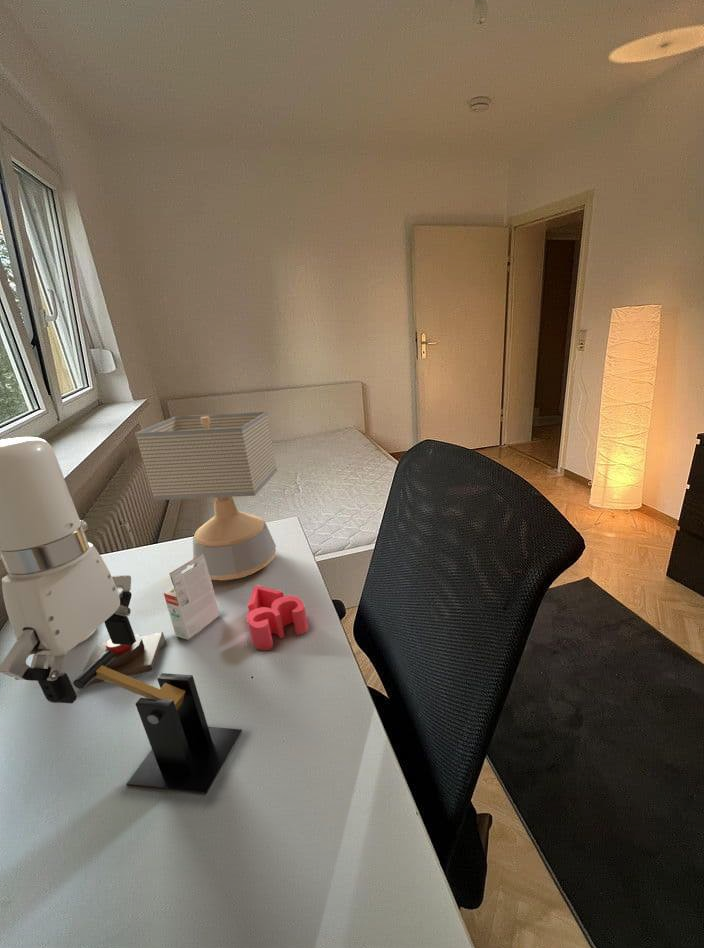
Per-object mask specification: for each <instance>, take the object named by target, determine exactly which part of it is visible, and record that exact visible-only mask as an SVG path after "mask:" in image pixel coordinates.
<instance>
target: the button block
mask: <svg viewBox="0 0 704 948" xmlns="http://www.w3.org/2000/svg"><path fill="white" fill-rule="evenodd" d="M134 636H135V638H136V642H135V643H134V644H132V646H131V647H130V648H129V649H128V650H126V651H124V652H122V653H120V654H115V655H114V659H113V660H112V661H111V662H110V663H109V664H108V665H107V666H106V667H107V668H109V669H112V670H114V671H117V672H119V673H122V674H124V675H127V676H129V677H131V676H133V675H139V674H142V673H147V672H151V671H154V669H155V665H156V663H157V660H158V657H159V654H160V651H161V648H162V647H163V648H164V647H165V644H166V638H165V634H164V631H158V632H154V633H150V634H144V635H140V634H139V633H138V634H137V633H134ZM106 651H107V648H106V642H105V643H102V644H97V645H96V646H95V648H94V649H93V651H92V653H91V655H90V657H89V659H88V661H87V662H86V664H85V666H84V667H83V669H82V672H81V673H83V672H84V671H85V670H86V669H87V668H88V667H89V666H90V665H91V664H92V663H93V662H94V661H96V660H97V659H98V658H99V657H100V656H101V655H102V654H103V653H104V652H106ZM103 682H105V681H104V680H102V679H99V678H97V677H94V678H93V679H92V680H91V681H90V682H89V683H88V684H87V685H86V686H89V685H94V684H98V683H103Z"/></svg>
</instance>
